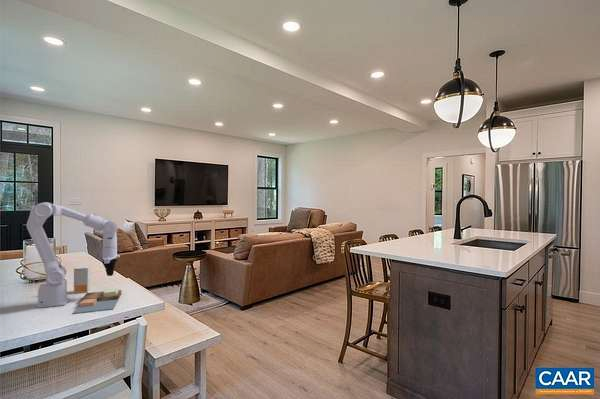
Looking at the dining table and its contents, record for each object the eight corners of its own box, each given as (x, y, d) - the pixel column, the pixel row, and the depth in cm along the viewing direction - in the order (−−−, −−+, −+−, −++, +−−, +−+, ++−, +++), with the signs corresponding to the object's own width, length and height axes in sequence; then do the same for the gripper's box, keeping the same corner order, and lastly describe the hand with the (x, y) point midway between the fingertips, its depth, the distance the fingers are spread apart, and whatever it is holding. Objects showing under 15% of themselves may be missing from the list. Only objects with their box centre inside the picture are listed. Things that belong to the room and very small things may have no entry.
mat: (72, 314, 124) (72, 313, 124) (81, 304, 135) (81, 303, 135) (113, 309, 129) (113, 308, 129) (118, 300, 140) (118, 299, 140)
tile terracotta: (79, 307, 130) (79, 303, 130) (83, 303, 135) (83, 299, 135) (93, 305, 132) (93, 302, 132) (96, 301, 136) (96, 298, 136)
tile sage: (103, 296, 139) (103, 292, 139) (105, 292, 144) (105, 289, 144) (116, 294, 141) (116, 291, 141) (118, 291, 146) (118, 288, 146)
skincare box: (73, 293, 148) (73, 268, 148) (77, 290, 152) (77, 266, 152) (87, 292, 150) (87, 267, 149) (91, 289, 154) (91, 265, 154)
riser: (81, 303, 135) (81, 299, 135) (86, 297, 143) (86, 292, 143) (118, 300, 140) (118, 295, 140) (121, 293, 148) (121, 289, 148)
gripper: (116, 248, 140) (117, 278, 140) (122, 243, 153) (122, 271, 154) (98, 249, 137) (98, 280, 138) (105, 244, 151) (106, 272, 151)
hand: (110, 275), depth 146 cm, fingers closed
